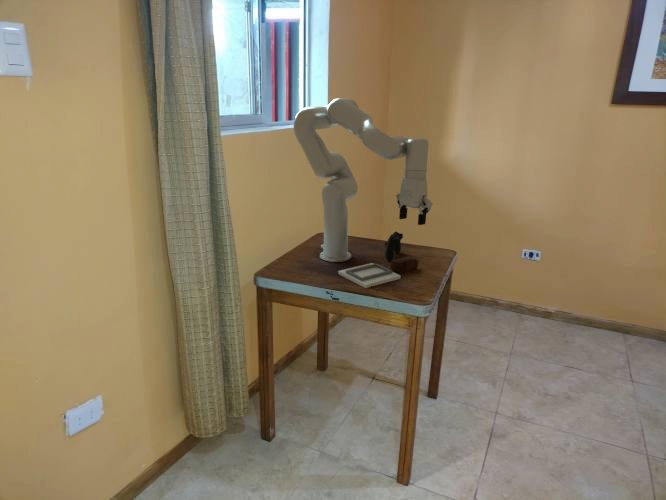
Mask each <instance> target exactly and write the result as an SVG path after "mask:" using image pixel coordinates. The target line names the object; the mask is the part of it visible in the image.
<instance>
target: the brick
mask: <svg viewBox="0 0 666 500" xmlns="http://www.w3.org/2000/svg"><path fill="white" fill-rule="evenodd" d="M389 266H390V268H389V269H390V270H392V272H394V273H396V274H398V275H400V274H403V273H407V272H412V271H415V270H417V268H418V266H419V260H418V259H417V258H416V257H413V256H410V255H409V256H405V257H399V258H395V259H394V258H393V260H391V261H390V265H389Z"/></svg>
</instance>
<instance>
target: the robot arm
mask: <svg viewBox="0 0 666 500" xmlns="http://www.w3.org/2000/svg"><path fill="white" fill-rule="evenodd" d="M373 121H374V119H373V117H372V116H371V115H370V114H368V113H366V112H365V111H363V110H361V109H360V108H359V104H358V103H357V102H356V101H355V100H353V99H351V98H347V97H345V98H344V97H343V98H342V97H339V98H334V99H333V100H331V101H330V102H329V104H327V105H323V106H322V105H321V106H319V105H318V106H306V107H303V108H302V109H300V110H299V111H298V112H297V113H296V115H295V117H294V120H293V133H294V135H295V137H296V140H297V141H298V143H299V145H300V147H301V148H302V151H303V153H304V154H305V157H306V159H307V161H308V163H309V165H310V167H311V169H312V171H313V173H314V175H315V176H316V177H317V178H319V179H322V180H323V179H329V178H330V180H328V181H327V182H325V183H324V185H323V187H322V190H321V198H322V207H323V243H322V244H320V248H322V252H320V253H319V258H320V259H321V260H323V261H326V262H331V263H339V262H340V263H342V262H347V261H348V260H350V259H351V258H352V254H351V253H350V252H349V251H348V243H349V242H348V241H349V240H348V239H349V234H348V232H349V229H348V228H349V211H348V207H347V206H348V205H347V201H348V200H351V199H354V197H356V195H357V193H358V182H357V181H356V178H355V176H354V175H353V172H352V170H351V168H350V166H349V164H348V162H347V160H346V159H345V158H344V156H343V155H341V154H340V153H339V152H335V151H329V149H328V148H327V145H326V144H325V141H324V140H323V138H322V137H321V136H320V135H319V133H318V132H317V130H325V129H329V128H333V127H337V126H340V127H342V128H344V129H345V130H347V131H348V132H350V133H351V134H352V135H354V136H355V137H358V139H359V141H360V142H361V143H362V144H363V145H364V146H365V147H366V148H367V149H368V150H370V151H371V152H373V153H375V154H376V155H378V157H380V158H382V159H384V160H389V161H392V160H396V159H400V158H401V159H402V158H405V159H404V160H405V162H404V170H403V172H404V176H403V177H402V179H401V183H400V190H399V193H398V194H396V200H397V201H396V202H397V204H398V208H399V220H404V219H407V218H408V208H409V207H410V208H412V209H417V210H418V212H419V213H418V218H417V225H418V226H422V225H426V223H427V222H426V221H427V214H428V213H429V211H431V208H432V206H433V202H432V201H431V200H430V199H429V198H428V194H429V193H428V190H429V189H428V179H427V169H428V157H429V145H430V144H429V140H428V139H427V138H424V137H423V138H421V137H407V136H402V135H401V136H400V135H398V136H390V135H388V134H386V133H385V132H383V131H381V130H380V129H379V128H378V127H376V125H375V124H374V122H373Z"/></svg>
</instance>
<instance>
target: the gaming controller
mask: <svg viewBox="0 0 666 500" xmlns="http://www.w3.org/2000/svg"><path fill="white" fill-rule="evenodd" d="M403 236H404V234H403V233H400V232H398V231H394V232H393V233H392V234H390V235H389V237H388V238H387V242H385V243H384V246H385V253H384V255H385V256H384V257H385V259H386V261H387V262H391V260H394V257H395V253H396V254H398V253H400V252H401V248H402V243H401V240H402V239H403V238H404V237H403Z"/></svg>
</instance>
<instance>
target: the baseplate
mask: <svg viewBox="0 0 666 500" xmlns="http://www.w3.org/2000/svg"><path fill="white" fill-rule="evenodd" d="M337 272H338V273H337V274H338V275H339V276H342V277H343V278H345V279H347V280H349V281H351V282H353V283H355V284H357V285H359V287H360V286H361V287H362V288H365V289H368V288H372V287H374V286H379V285H382V284H386V283H388V282H389V283H390V282H393V281H397V280H400V279H401V275H400V274H396V273H394V272H392V270H390V268H388V267H385V266H383V265H381V264H378V263H373V262H370V263H366V264H363V265H357V266H353V267H349V268H345V269H341V270H338V271H337ZM371 286H372V287H371Z"/></svg>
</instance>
